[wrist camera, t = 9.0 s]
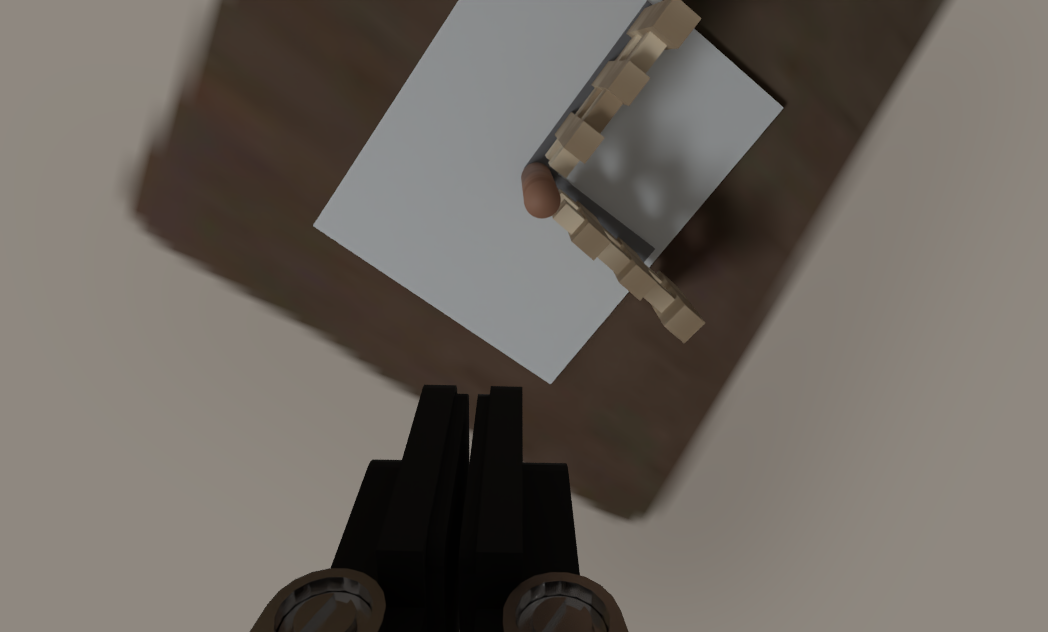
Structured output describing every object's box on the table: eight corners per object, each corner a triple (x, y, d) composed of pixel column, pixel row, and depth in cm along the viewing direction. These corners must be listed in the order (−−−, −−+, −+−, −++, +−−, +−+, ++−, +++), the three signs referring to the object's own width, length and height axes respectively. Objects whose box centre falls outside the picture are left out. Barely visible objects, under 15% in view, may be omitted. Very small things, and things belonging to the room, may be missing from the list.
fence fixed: (642, 9, 28) (675, -5, 22) (664, 27, 28) (701, 18, 23) (540, 148, 30) (547, 167, 24) (560, 164, 30) (572, 186, 25)
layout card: (532, -113, 26) (532, -115, 26) (780, 107, 29) (784, 108, 29) (314, 224, 31) (312, 226, 30) (550, 381, 34) (550, 385, 34)
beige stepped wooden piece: (514, 179, 30) (516, 202, 25) (535, 155, 29) (540, 173, 24) (655, 302, 32) (682, 345, 27) (676, 281, 32) (707, 321, 27)
